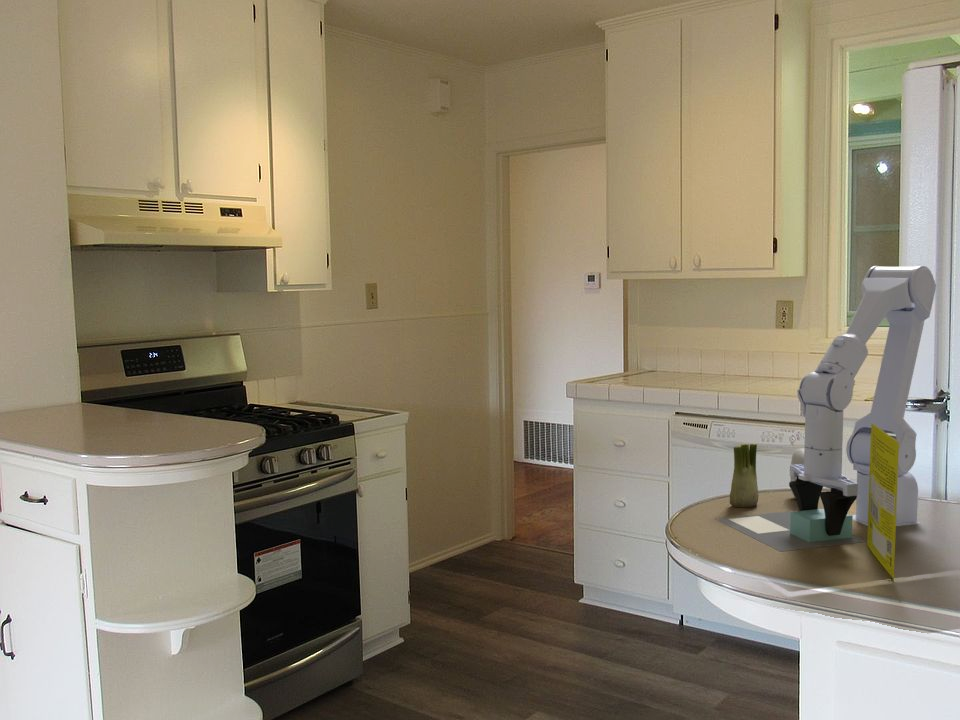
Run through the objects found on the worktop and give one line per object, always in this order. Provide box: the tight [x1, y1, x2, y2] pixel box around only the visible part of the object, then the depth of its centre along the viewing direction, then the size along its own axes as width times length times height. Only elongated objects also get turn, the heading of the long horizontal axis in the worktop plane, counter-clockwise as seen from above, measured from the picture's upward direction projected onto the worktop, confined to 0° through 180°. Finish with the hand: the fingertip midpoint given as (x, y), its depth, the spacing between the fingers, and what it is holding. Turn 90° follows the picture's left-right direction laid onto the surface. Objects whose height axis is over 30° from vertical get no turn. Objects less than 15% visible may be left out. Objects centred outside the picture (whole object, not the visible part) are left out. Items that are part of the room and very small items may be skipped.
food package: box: [866, 424, 899, 584], centre depth 135 cm, size 15×1×20 cm, turn 170°
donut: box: [789, 447, 804, 500], centre depth 172 cm, size 10×3×10 cm, turn 168°
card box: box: [790, 508, 853, 542], centre depth 149 cm, size 8×5×4 cm, turn 107°
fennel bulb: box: [729, 443, 759, 509], centre depth 167 cm, size 6×5×12 cm
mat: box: [715, 510, 867, 552], centre depth 152 cm, size 16×19×1 cm
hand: (820, 529), depth 149 cm, fingers open, 6 cm apart
